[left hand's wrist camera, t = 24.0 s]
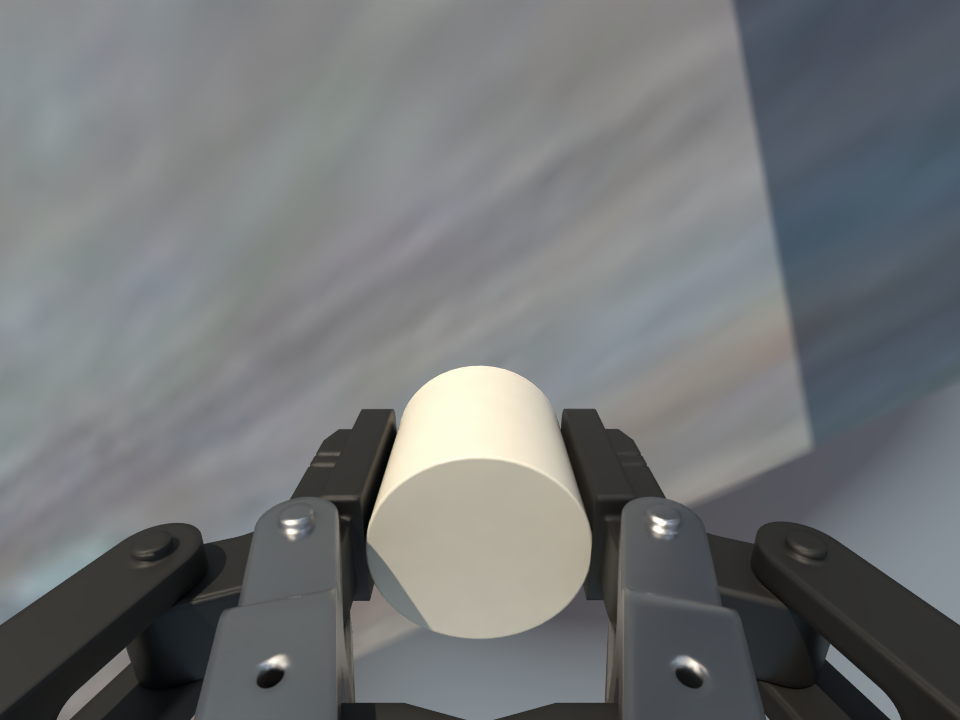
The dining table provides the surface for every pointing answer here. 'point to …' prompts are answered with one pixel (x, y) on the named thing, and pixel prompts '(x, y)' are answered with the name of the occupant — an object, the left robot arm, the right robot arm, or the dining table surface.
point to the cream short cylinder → (479, 509)
